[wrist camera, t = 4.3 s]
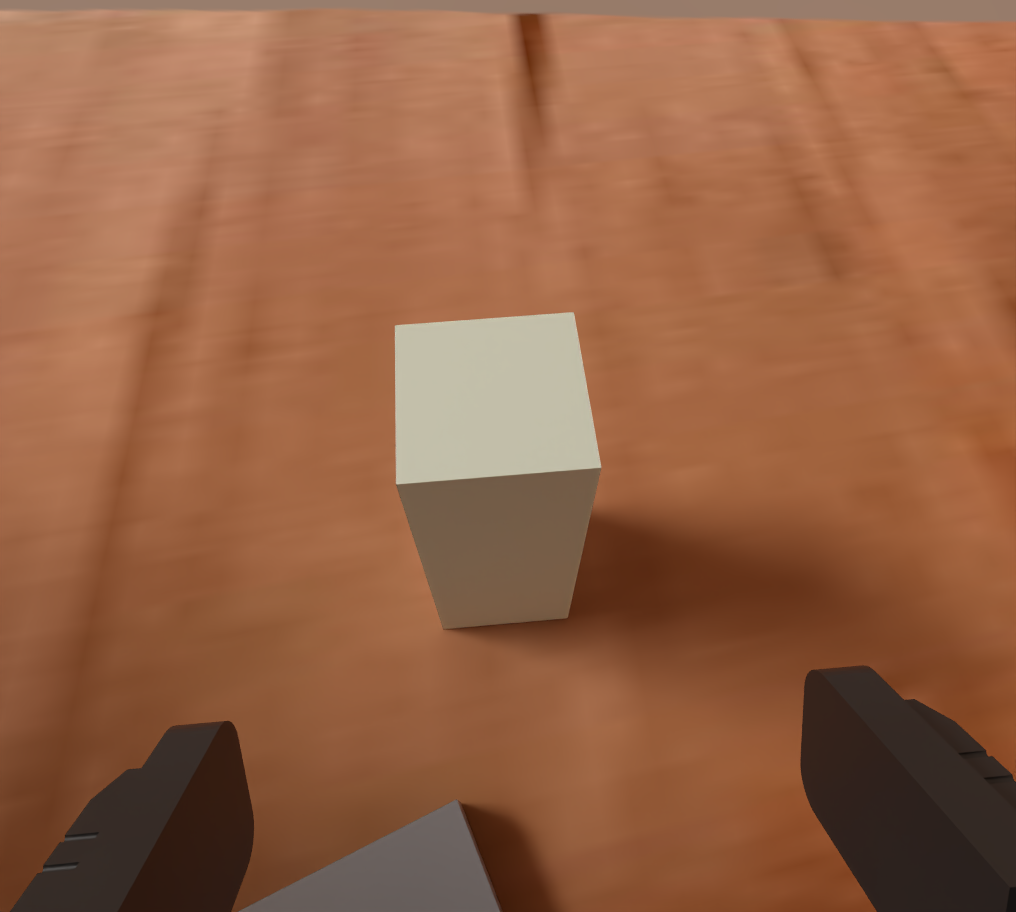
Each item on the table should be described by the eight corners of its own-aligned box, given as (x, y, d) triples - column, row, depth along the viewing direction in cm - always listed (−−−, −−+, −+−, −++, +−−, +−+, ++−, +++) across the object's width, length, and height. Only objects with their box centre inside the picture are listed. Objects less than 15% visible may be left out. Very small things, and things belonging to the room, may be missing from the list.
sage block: (567, 618, 22) (601, 467, 13) (443, 629, 22) (395, 484, 13) (552, 506, 24) (573, 312, 15) (438, 515, 24) (395, 325, 15)
